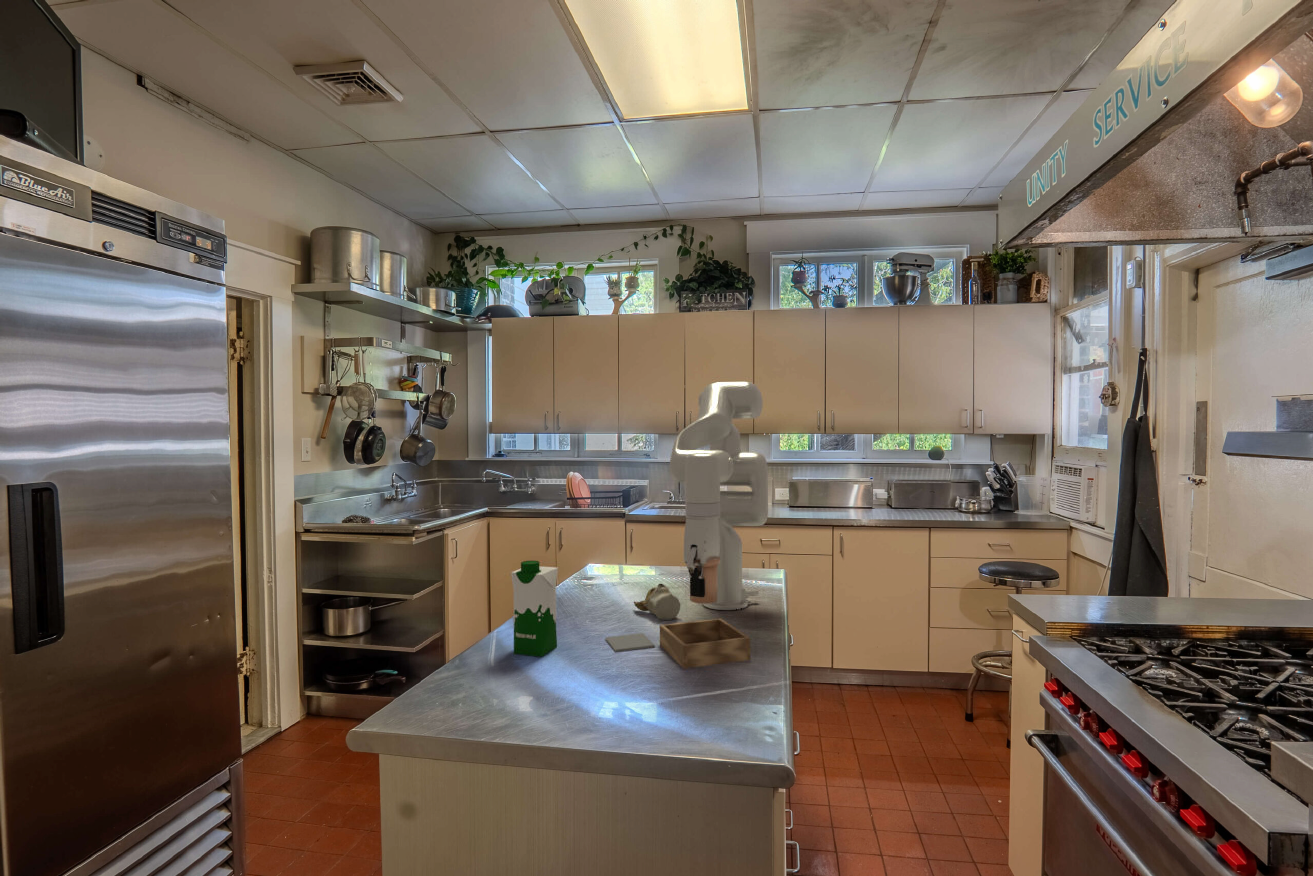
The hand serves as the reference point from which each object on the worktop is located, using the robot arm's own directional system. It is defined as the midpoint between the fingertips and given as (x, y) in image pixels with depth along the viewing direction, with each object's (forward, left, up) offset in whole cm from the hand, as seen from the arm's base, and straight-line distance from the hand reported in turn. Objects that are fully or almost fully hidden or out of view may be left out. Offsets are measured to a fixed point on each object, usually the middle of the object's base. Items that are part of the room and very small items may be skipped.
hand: (703, 591), depth 141 cm
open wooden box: (0, +1, -13) cm, 14 cm away
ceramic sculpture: (-1, -31, -14) cm, 34 cm away
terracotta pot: (0, 0, -2) cm, 2 cm away
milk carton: (+34, -14, -14) cm, 40 cm away
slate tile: (+14, -10, -13) cm, 22 cm away
